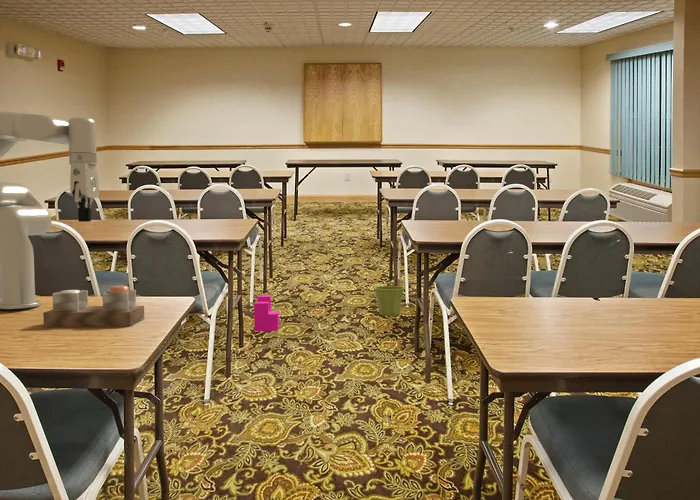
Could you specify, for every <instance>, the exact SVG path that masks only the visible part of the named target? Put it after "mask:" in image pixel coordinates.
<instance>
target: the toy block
mask: <svg viewBox="0 0 700 500" xmlns="http://www.w3.org/2000/svg"><path fill="white" fill-rule="evenodd" d="M271 298H272V297H271V295H258V296H257V297H256V299H257V301H254V303H253V324H254V325H253V331H254V332H278V331H279V326H280V311H272V299H271Z"/></svg>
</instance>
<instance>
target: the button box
mask: <svg viewBox="0 0 700 500" xmlns="http://www.w3.org/2000/svg"><path fill="white" fill-rule="evenodd" d="M79 290H80V289H79ZM61 291H62V290H61ZM61 291H57V292H53V293H52V309H50V310H47V311H45V312H43V327H45V328H72V327H73V328H75V327H76V328H82V327H83V328H92V327H95V328H97V327H101V328H102V327H103V328H104V327H109V328H111V327H115V328H116V327H117V328H119V327H132V326H134V325H136V324H138V323H139V321H140V320H141V319H143V318H144V319H145V305H137V290H136V289H129V292H127V293H110V290H108V291H105V292H103V293H102V295H101V296H102V305H89V290H87V289H86V290H85V289H84V290H83V289H82V290H80V292H78V293H61ZM144 319H143V320H144ZM140 322H141V321H140Z"/></svg>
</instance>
